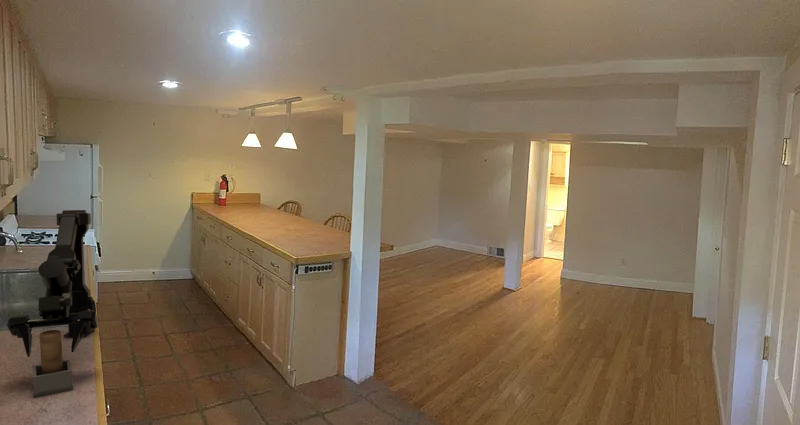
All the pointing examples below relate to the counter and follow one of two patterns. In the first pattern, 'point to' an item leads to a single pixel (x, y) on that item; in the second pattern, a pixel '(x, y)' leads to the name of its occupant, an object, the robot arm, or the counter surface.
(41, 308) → the robot arm
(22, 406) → the counter surface
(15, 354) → the counter surface
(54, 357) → the walnut peg
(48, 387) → the socket cup
